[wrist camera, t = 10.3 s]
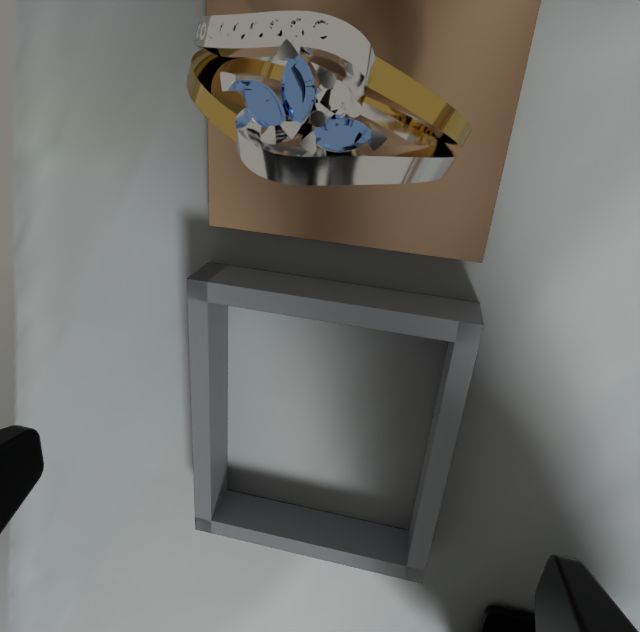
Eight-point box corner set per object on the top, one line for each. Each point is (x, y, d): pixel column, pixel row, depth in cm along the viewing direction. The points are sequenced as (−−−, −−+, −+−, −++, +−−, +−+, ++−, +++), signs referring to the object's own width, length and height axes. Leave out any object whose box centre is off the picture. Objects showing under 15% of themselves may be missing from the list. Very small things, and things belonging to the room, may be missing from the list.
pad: (558, -93, 14) (562, -100, 13) (481, 257, 18) (482, 262, 17) (212, -103, 15) (204, -109, 15) (215, 221, 20) (209, 225, 19)
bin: (479, 302, 19) (483, 325, 17) (423, 546, 24) (422, 583, 22) (208, 262, 20) (186, 278, 19) (212, 498, 26) (195, 529, 24)
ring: (480, 95, 15) (511, 107, 8) (426, 190, 17) (414, 269, 10) (276, -11, 15) (135, -89, 8) (241, 93, 17) (95, 102, 10)
